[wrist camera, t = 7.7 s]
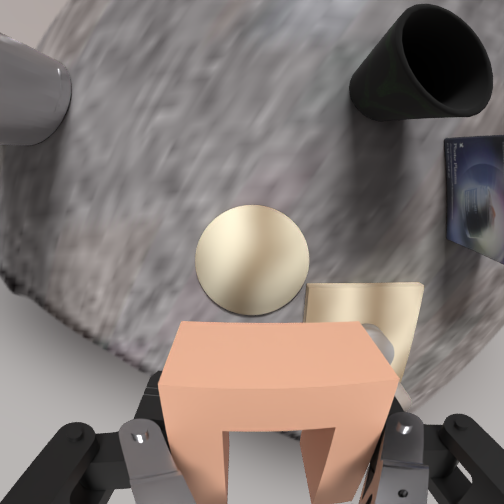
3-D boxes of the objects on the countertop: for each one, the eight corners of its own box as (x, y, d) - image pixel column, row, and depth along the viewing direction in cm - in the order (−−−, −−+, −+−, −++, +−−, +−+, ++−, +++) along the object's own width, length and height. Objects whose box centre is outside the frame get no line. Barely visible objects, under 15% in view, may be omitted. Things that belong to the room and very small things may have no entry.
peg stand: (295, 387, 32) (314, 466, 22) (306, 283, 29) (340, 345, 19) (396, 379, 33) (437, 442, 22) (418, 282, 30) (483, 329, 19)
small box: (439, 136, 26) (511, 130, 16) (483, 140, 26) (553, 139, 16) (443, 241, 29) (510, 271, 19) (485, 235, 29) (551, 260, 19)
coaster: (197, 312, 30) (196, 313, 29) (195, 204, 27) (194, 204, 27) (304, 313, 30) (304, 314, 30) (311, 206, 28) (312, 207, 27)
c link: (181, 321, 10) (157, 384, 7) (359, 321, 11) (399, 379, 7) (194, 442, 12) (184, 506, 8) (333, 440, 12) (351, 500, 9)
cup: (407, 142, 26) (491, 135, 15) (332, 119, 26) (391, 89, 14) (415, 70, 25) (492, 35, 13) (343, 44, 24) (398, -16, 12)
